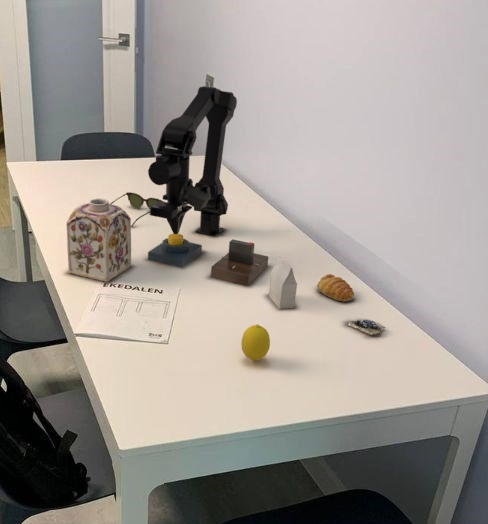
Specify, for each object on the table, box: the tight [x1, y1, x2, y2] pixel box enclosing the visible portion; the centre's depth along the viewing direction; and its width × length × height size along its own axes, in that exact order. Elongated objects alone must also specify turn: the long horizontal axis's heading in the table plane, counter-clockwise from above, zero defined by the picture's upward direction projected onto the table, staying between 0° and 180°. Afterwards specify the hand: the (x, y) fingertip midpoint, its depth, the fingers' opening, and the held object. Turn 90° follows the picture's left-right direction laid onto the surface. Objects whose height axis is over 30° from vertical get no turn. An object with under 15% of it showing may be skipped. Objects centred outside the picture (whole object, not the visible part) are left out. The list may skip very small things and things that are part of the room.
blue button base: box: [147, 237, 203, 268], centre depth 178 cm, size 12×10×4 cm
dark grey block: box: [228, 238, 255, 265], centre depth 169 cm, size 6×2×5 cm, turn 65°
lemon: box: [240, 324, 271, 362], centre depth 131 cm, size 6×6×8 cm
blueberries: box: [347, 319, 387, 335], centre depth 146 cm, size 7×8×2 cm
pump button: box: [167, 233, 184, 245], centre depth 177 cm, size 4×4×2 cm
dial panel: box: [210, 252, 269, 287], centre depth 170 cm, size 14×10×3 cm
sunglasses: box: [109, 191, 163, 228], centre depth 205 cm, size 14×15×5 cm
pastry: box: [316, 273, 355, 302], centre depth 161 cm, size 9×7×4 cm
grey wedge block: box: [268, 256, 298, 310], centre depth 155 cm, size 4×7×10 cm, turn 16°
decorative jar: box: [66, 198, 132, 283], centre depth 165 cm, size 12×12×18 cm
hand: (176, 233), depth 176 cm, fingers closed
